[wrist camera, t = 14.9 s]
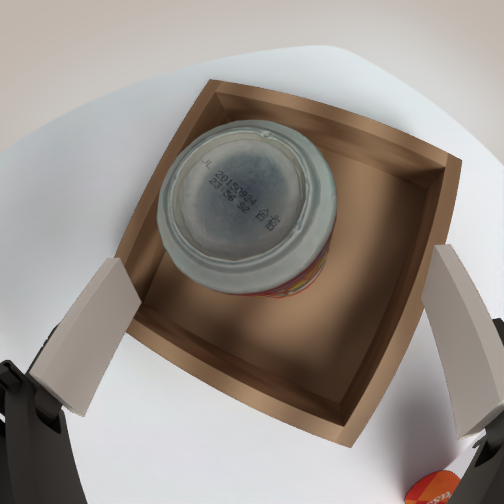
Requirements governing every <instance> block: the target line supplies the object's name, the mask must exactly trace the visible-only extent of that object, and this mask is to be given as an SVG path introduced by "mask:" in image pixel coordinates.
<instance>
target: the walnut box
mask: <svg viewBox="0 0 504 504" xmlns="http://www.w3.org/2000/svg"><path fill="white" fill-rule="evenodd" d="M237 120H238V121H243V120H266V121H273V122H276V123H279V124H282V125H285V126H287V127H290V128H293V129H295V130H296V131H298V132H300V133H301V134H302V135H304V136H305V137H307V138H308V139H309V140H310V141H311V142H312V143H313V144H314V145H315V146H316V147H317V148H318V150H319V151H320V152H321V154H322V155H323V157H324V158H325V160H326V161H327V162H328V164H329V165H330V167H331V170H332V173H333V176H334V180H335V184H336V189H337V215H336V218H337V219H336V222H335V226H334V230H333V234H332V239H331V243H330V248H329V251H328V256H327V260H326V263H325V266H324V268H323V270H322V271H321V273H320V275H319V276H318V277H317V279H316V280H315V281H314V282H313V283H312V284H311V285H310V286H309V287H308V288H307V289H305V290H303V291H301V292H300V293H298V294H295V295H293V296H290V297H285V298H261V297H251V296H236V295H228V294H224V293H219V292H215V291H213V290H211V289H208V288H206V287H204V286H202V285H200V284H198V283H197V282H195V281H194V280H192V279H190V278H189V277H188V276H186V275H185V274H184V273H182V272H181V271H180V270H179V269H178V268H177V266H176V265H175V264H174V262H173V261H172V260H171V258H170V257H169V255H168V254H167V252H166V250H165V248H164V245H163V242H162V239H161V236H160V234H159V230H158V224H157V218H156V217H157V208H158V201H159V194H160V189H161V186H162V184H163V181H164V179H165V177H166V174H167V172H168V170H169V168H170V167H171V165H172V164H173V162H174V161H175V159H176V158H177V156H178V155H179V154H180V153H181V152H182V151H183V150H184V149H185V148H186V147H188V146H189V145H190V144H191V143H192V142H193V141H194V140H195V139H197V138H198V137H199V136H201V135H202V134H204V133H206V132H208V131H210V130H212V129H214V128H215V127H217V126H221V125H225V124H228V123H231V122H234V121H237ZM461 165H462V160H461V159H459V158H457V157H455V156H453V155H451V154H449V153H447V152H445V151H443V150H441V149H439V148H437V147H435V146H433V145H431V144H429V143H427V142H425V141H422V140H420V139H418V138H416V137H414V136H411V135H409V134H407V133H404V132H402V131H400V130H397V129H395V128H392V127H390V126H387V125H385V124H382V123H380V122H377V121H374V120H372V119H369V118H366V117H363V116H361V115H358V114H355V113H352V112H349V111H346V110H343V109H340V108H337V107H333V106H330V105H327V104H323V103H320V102H317V101H313V100H309V99H306V98H302V97H298V96H294V95H290V94H286V93H282V92H277V91H273V90H268V89H264V88H259V87H254V86H249V85H243V84H237V83H231V82H225V81H219V80H211V79H210V80H209V81H208V83H207V84H206V86H205V87H204V89H203V90H202V92H201V93H200V95H199V96H198V98H197V99H196V101H195V102H194V104H193V106H192V107H191V109H190V110H189V112H188V113H187V115H186V117H185V118H184V120H183V122H182V123H181V125H180V127H179V128H178V130H177V132H176V133H175V135H174V137H173V139H172V140H171V142H170V144H169V146H168V147H167V149H166V151H165V153H164V154H163V156H162V158H161V160H160V162H159V164H158V165H157V167H156V169H155V171H154V173H153V175H152V177H151V179H150V181H149V183H148V185H147V187H146V189H145V191H144V193H143V195H142V197H141V199H140V201H139V203H138V205H137V207H136V209H135V211H134V213H133V216H132V218H131V220H130V222H129V224H128V226H127V229H126V231H125V233H124V236H123V238H122V240H121V242H120V245H119V247H118V250H117V252H116V254H115V257H114V258H120V259H121V261H122V263H123V266H124V268H125V270H126V272H127V274H128V276H129V278H130V280H131V282H132V284H133V286H134V288H135V290H136V292H137V294H138V296H139V298H140V300H141V304H140V306H139V308H138V310H137V311H136V313H135V315H134V317H133V319H132V321H131V322H130V324H129V326H128V328H127V330H126V333H128V334H129V335H131V336H132V337H133V338H135V339H136V340H138V341H139V342H141V343H142V344H144V345H145V346H146V347H148V348H149V349H151V350H152V351H154V352H156V353H157V354H159V355H160V356H162V357H163V358H165V359H166V360H168V361H170V362H171V363H173V364H174V365H176V366H178V367H179V368H181V369H182V370H184V371H186V372H187V373H189V374H191V375H192V376H194V377H196V378H198V379H199V380H201V381H203V382H205V383H206V384H208V385H210V386H212V387H214V388H215V389H217V390H219V391H221V392H223V393H225V394H226V395H228V396H230V397H232V398H234V399H236V400H238V401H240V402H242V403H244V404H246V405H248V406H250V407H252V408H254V409H256V410H258V411H260V412H262V413H264V414H267V415H269V416H271V417H273V418H275V419H278V420H280V421H282V422H284V423H287V424H289V425H291V426H294V427H296V428H298V429H301V430H303V431H306V432H308V433H311V434H313V435H316V436H318V437H321V438H324V439H326V440H329V441H332V442H335V443H337V444H340V445H343V446H346V447H349V448H351V447H352V446H353V444H354V443H355V441H356V440H357V438H358V437H359V435H360V434H361V432H362V431H363V429H364V428H365V426H366V424H367V423H368V421H369V420H370V418H371V416H372V415H373V413H374V411H375V409H376V408H377V406H378V404H379V403H380V401H381V399H382V397H383V395H384V394H385V392H386V390H387V388H388V386H389V384H390V382H391V381H392V379H393V377H394V375H395V373H396V371H397V369H398V367H399V365H400V363H401V361H402V358H403V356H404V354H405V352H406V350H407V348H408V346H409V343H410V341H411V339H412V337H413V334H414V332H415V330H416V327H417V325H418V322H419V320H420V317H421V315H422V312H423V310H424V305H423V302H422V299H421V296H422V292H423V289H424V285H425V282H426V278H427V274H428V270H429V266H430V262H431V258H432V254H433V249H434V245H445V242H446V239H447V235H448V231H449V227H450V223H451V219H452V214H453V210H454V205H455V200H456V195H457V190H458V184H459V178H460V172H461Z"/></svg>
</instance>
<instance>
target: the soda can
mask: <svg viewBox="0 0 504 504" xmlns="http://www.w3.org/2000/svg"><path fill="white" fill-rule="evenodd" d="M336 215H337V189H336V184H335V180H334V176H333V173H332V170H331V167H330V165H329V164H328V162H327V161H326V160H325V158H324V157H323V155H322V154H321V152H320V151H319V150H318V148H317V147H316V146H315V145H314V144H313V143H312V142H311V141H310V140H309V139H308V138H307V137H305V136H304V135H302V134H301V133H300V132H298V131H296V130H295V129H293V128H290V127H287V126H285V125H282V124H279V123H276V122H273V121H266V120H243V121H238V120H237V121H234V122H231V123H228V124H225V125H221V126H217V127H215V128H214V129H212V130H210V131H208V132H206V133H204V134H202V135H201V136H199V137H198V138H197V139H195V140H194V141H193V142H192V143H191V144H190V145H189V146H188V147H186V148H185V149H184V150H183V151H182V152H181V153H180V154H179V155H178V156H177V158H176V159H175V161H174V162H173V164H172V165H171V167H170V168H169V170H168V172H167V174H166V177H165V179H164V181H163V184H162V186H161V189H160V194H159V201H158V208H157V217H156V218H157V224H158V230H159V234H160V236H161V239H162V242H163V245H164V248H165V250H166V252H167V254H168V255H169V257H170V258H171V260H172V261H173V262H174V264H175V265H176V266H177V268H178V269H179V270H180V271H181V272H182V273H184V274H185V275H186V276H188V277H189V278H190V279H192V280H194V281H195V282H197V283H198V284H200V285H202V286H204V287H206V288H208V289H211V290H213V291H215V292H219V293H224V294H228V295H236V296H251V297H261V298H285V297H290V296H293V295H295V294H298V293H300V292H301V291H303V290H305V289H307V288H308V287H309V286H310V285H311V284H312V283H313V282H314V281H315V280H316V279H317V277H318V276H319V275H320V273H321V271H322V270H323V268H324V266H325V263H326V260H327V256H328V251H329V248H330V243H331V239H332V234H333V230H334V226H335V222H336V219H337V218H336Z"/></svg>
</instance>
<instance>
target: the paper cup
mask: <svg viewBox="0 0 504 504" xmlns="http://www.w3.org/2000/svg"><path fill="white" fill-rule="evenodd" d="M460 481H461V479H460V478H459V477H458V476H457V475H455V474H454V473H453V472H451V471H447V470H442V471H437V472H434V473H432V474H429V475H427V476H426V477H424V478H422V479H421V480H419V481H418V482H417V483H416V484H415V485H414V486H413V487H412V488H411V489H410V490H409V492H408V493H407V495H406V498H405V504H446V503H447V501H448V500H449V498H450V497H451V495H452V493H453V492H454V490H455V489H456V487H457V486H458V484H459V482H460Z"/></svg>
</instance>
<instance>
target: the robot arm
mask: <svg viewBox="0 0 504 504" xmlns="http://www.w3.org/2000/svg"><path fill="white" fill-rule="evenodd" d="M421 299H422V302H423V305H424V307H425V310H426V313H427V316H428V319H429V322H430V325H431V328H432V331H433V335H434V338H435V341H436V345H437V348H438V351H439V355H440V359H441V362H442V366H443V370H444V374H445V378H446V382H447V386H448V390H449V395H450V400H451V404H452V409H453V414H454V420H455V426H456V432H457V438H458V440H460V439H464V438H467V437H471V436H474V435H477V434H478V433H479V432H480V431H482V430H483V429H484V428H485V430H486V435H485V436H483V437H482V438H481V439H480V440H478V441H477V442H476V443H475V444H474V446H473V447H472V448H476V447H477V446H479V445H480V446H479V448H478V450H477V452H476V454H475V456H474V457H473V459H472V461H471V463H470V465H469V467H468V469H467V470H466V472H465V474H464V476H463V477H462V479H461V481H460V482H459V484H458V486H457V487H456V489H455V490H454V492H453V493H452V495H451V497H450V498H449V500H448V501H447V503H446V504H504V322H503V321H502V320H501V318H497V319H491V317H490V315H489V312H488V310H487V308H486V306H485V304H484V302H483V300H482V298H481V296H480V294H479V293H478V291H477V289H476V287H475V285H474V283H473V281H472V280H471V278H470V276H469V274H468V272H467V271H466V269H465V267H464V266H463V264H462V262H461V260H460V259H459V257H458V255H457V254H456V252H455V251H454V249H453V247H452V246H451V244H447V245H434V249H433V254H432V258H431V262H430V266H429V270H428V274H427V278H426V282H425V285H424V289H423V292H422V296H421ZM140 304H141V300H140V298H139V296H138V294H137V292H136V290H135V288H134V286H133V284H132V282H131V280H130V278H129V276H128V274H127V272H126V270H125V268H124V266H123V263H122V261H121V259H120V258H107V260H106V261H105V262H104V263H103V265H102V266H101V267H100V269H99V270H98V271H97V272H96V274H95V275H94V276H93V278H92V279H91V280H90V282H89V283H88V284H87V286H86V287H85V288H84V290H83V291H82V293H81V294H80V295H79V297H78V298H77V299H76V301H75V302H74V304H73V305H72V306H71V308H70V309H69V311H68V312H67V314H66V315H65V317H64V318H63V319H62V321H61V322H60V323H59V324H58V325H57V326H56V327H55V328H54V329H53V330H52V332H51V333H50V335H49V336H48V339H46V341H45V343H44V344H43V347H41V349H40V351H39V352H38V354H37V355H36V357H35V359H34V360H33V362H32V364H31V365H30V367H29V369H28V370H27V372H26V373H25V375H24V374H23V373H22V372H21V371H20V370H19V369H18V368H17V367H16V366H15V365H14V363H13V362H12V361H11V360H5V361H3V362H1V363H0V413H1V414H2V415H3V416H5V423H4V422H3V421H2V420H1V419H0V504H87V501H86V498H85V495H84V492H83V489H82V485H81V482H80V479H79V475H78V472H77V468H76V465H75V461H74V457H73V453H72V448H71V444H70V439H69V435H68V430H67V424H66V419H65V414H64V411H63V410H62V409H61V407H62V405H64V406H65V407H66V408H67V409H68V410H69V411H71V412H72V413H75V414H77V415H80V416H82V417H84V416H85V414H86V411H87V409H88V407H89V405H90V403H91V400H92V398H93V396H94V394H95V392H96V390H97V388H98V385H99V383H100V381H101V379H102V377H103V375H104V373H105V371H106V369H107V367H108V365H109V363H110V361H111V359H112V357H113V355H114V353H115V351H116V349H117V347H118V345H119V343H120V341H121V339H122V338H123V336H124V334H125V332H126V330H127V328H128V326H129V324H130V322H131V321H132V319H133V317H134V315H135V313H136V311H137V310H138V308H139V306H140Z"/></svg>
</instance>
